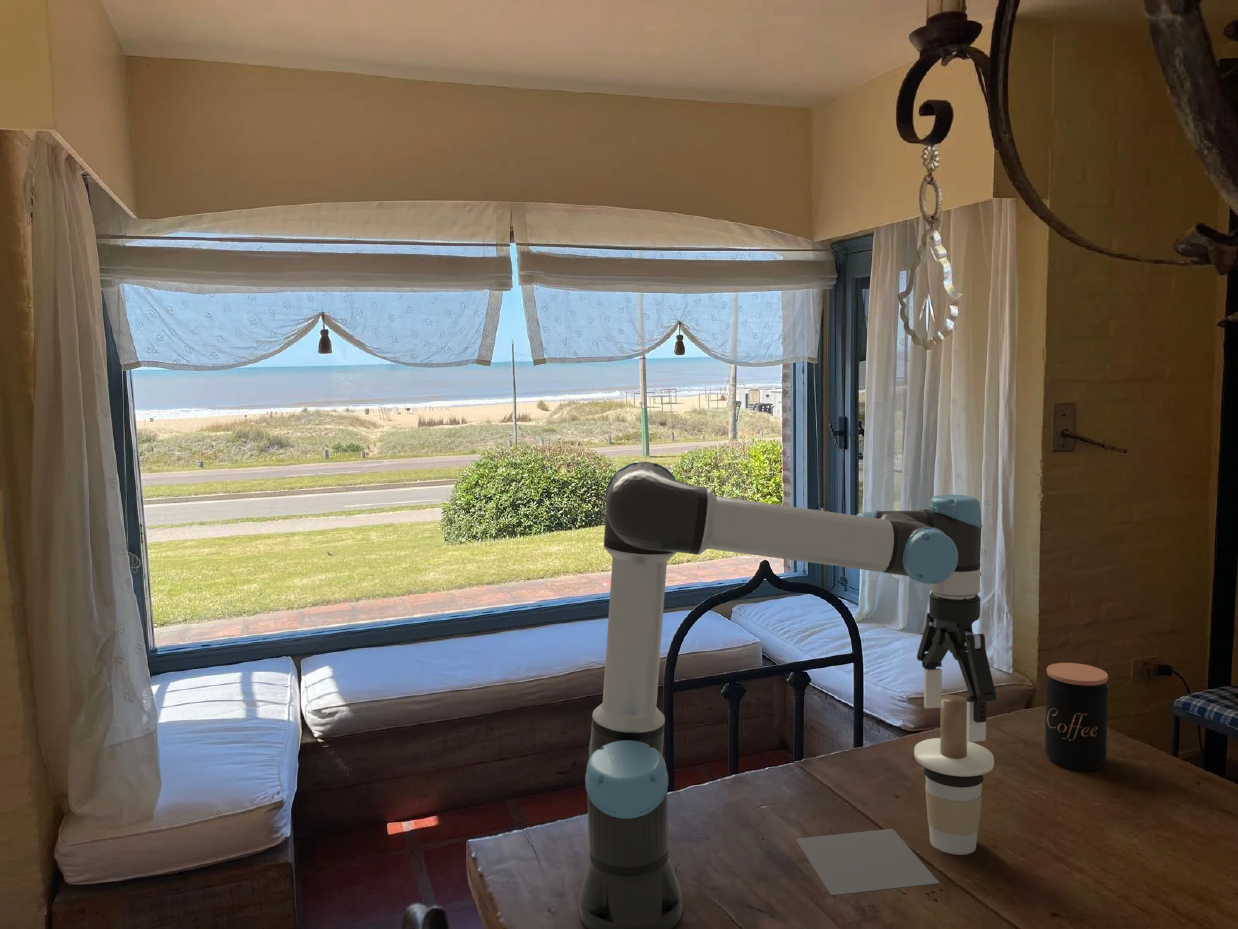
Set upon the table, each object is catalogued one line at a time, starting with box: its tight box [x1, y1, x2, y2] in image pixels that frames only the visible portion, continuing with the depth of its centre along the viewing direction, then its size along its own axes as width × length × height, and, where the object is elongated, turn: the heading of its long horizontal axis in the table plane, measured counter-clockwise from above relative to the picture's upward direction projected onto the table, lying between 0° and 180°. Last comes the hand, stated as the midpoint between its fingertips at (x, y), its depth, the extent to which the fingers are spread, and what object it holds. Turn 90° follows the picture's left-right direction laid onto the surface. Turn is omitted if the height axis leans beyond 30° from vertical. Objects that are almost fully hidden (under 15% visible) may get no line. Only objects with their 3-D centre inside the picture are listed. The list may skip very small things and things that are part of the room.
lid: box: [913, 694, 995, 777], centre depth 140 cm, size 12×12×10 cm
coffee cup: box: [923, 766, 985, 856], centre depth 141 cm, size 9×9×15 cm
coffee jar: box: [1044, 662, 1109, 771], centre depth 171 cm, size 11×11×18 cm
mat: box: [795, 828, 940, 896], centre depth 138 cm, size 17×16×1 cm
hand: (953, 723), depth 140 cm, fingers open, 13 cm apart
